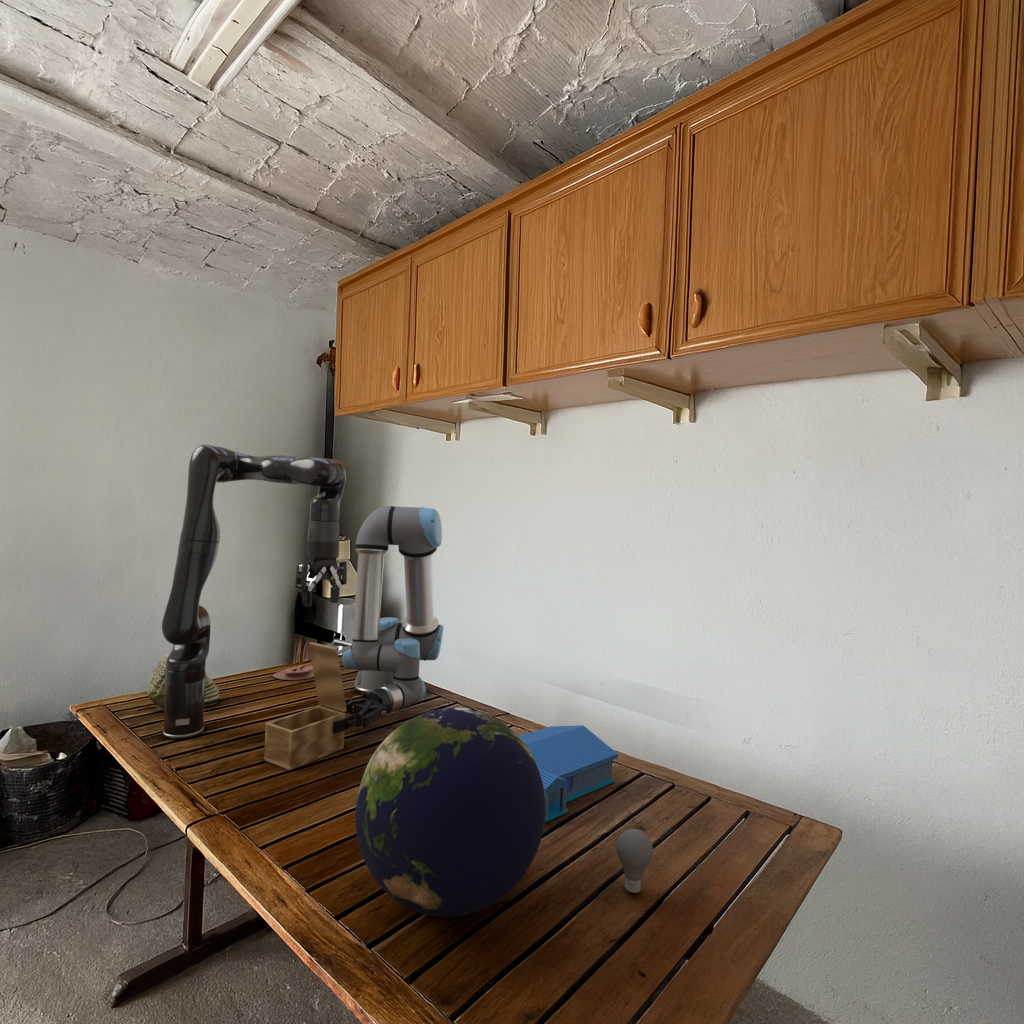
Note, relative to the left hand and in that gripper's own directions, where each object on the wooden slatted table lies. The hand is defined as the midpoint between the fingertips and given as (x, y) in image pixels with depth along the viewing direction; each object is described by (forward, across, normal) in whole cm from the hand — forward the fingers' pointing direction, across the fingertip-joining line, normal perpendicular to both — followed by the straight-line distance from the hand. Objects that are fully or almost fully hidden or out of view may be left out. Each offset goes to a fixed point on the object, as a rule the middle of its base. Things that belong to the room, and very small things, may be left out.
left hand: (321, 604), depth 157 cm
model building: (+36, +13, -54) cm, 66 cm away
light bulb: (+36, -8, -86) cm, 94 cm away
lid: (+19, +3, 0) cm, 19 cm away
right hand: (+30, +1, 0) cm, 30 cm away
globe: (+36, -28, -62) cm, 78 cm away
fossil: (+36, -1, +54) cm, 66 cm away
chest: (+36, -3, 0) cm, 37 cm away
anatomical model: (+36, +39, +55) cm, 77 cm away
